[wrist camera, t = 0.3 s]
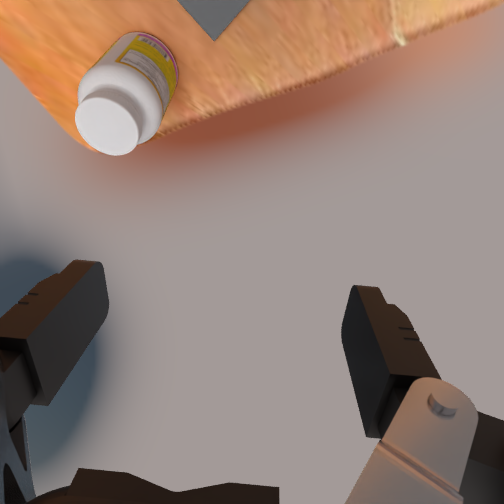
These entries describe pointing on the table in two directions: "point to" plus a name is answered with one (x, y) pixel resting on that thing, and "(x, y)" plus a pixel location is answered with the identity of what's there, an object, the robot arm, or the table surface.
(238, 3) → the mat
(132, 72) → the supplement bottle
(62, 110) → the table surface
